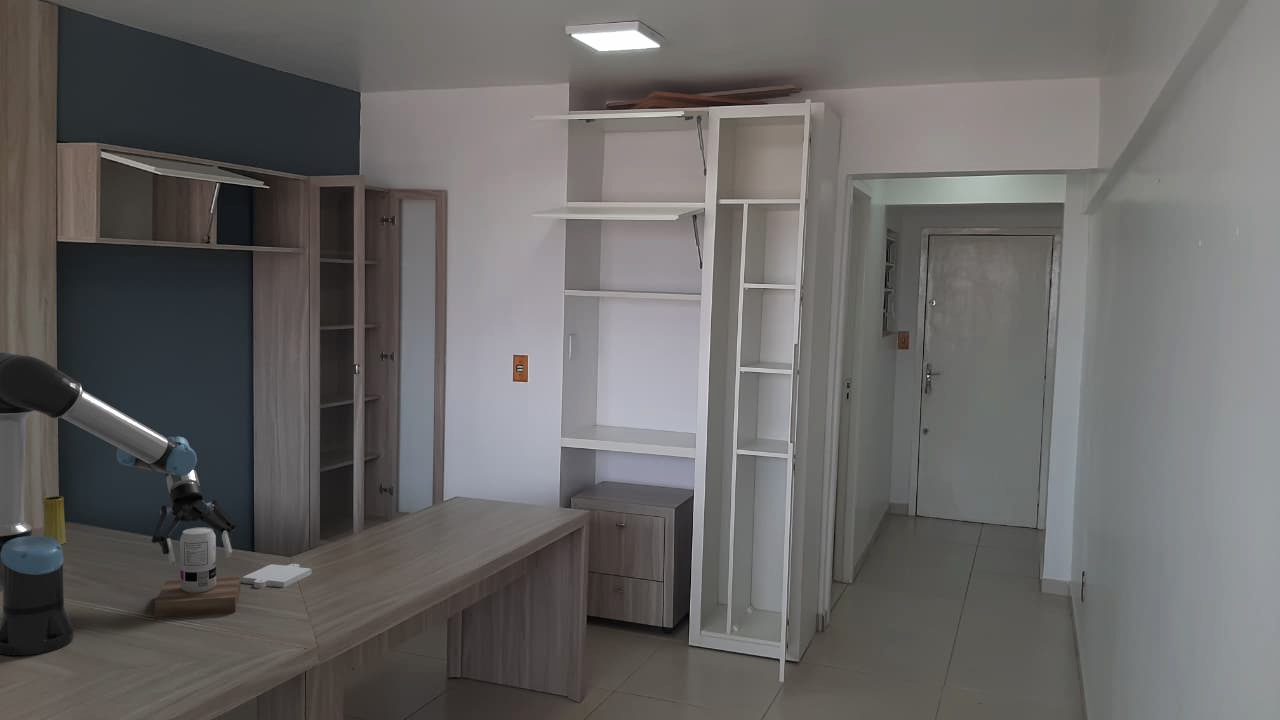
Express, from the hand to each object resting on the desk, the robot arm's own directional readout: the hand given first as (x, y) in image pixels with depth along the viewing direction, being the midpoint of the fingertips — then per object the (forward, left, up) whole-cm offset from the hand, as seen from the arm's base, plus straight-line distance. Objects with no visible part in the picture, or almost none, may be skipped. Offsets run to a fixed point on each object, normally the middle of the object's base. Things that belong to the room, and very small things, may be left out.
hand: (201, 559), depth 246 cm
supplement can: (+2, +1, -8) cm, 9 cm away
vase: (+72, +49, -12) cm, 88 cm away
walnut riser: (+2, +1, -12) cm, 12 cm away
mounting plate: (+20, -17, -13) cm, 29 cm away
